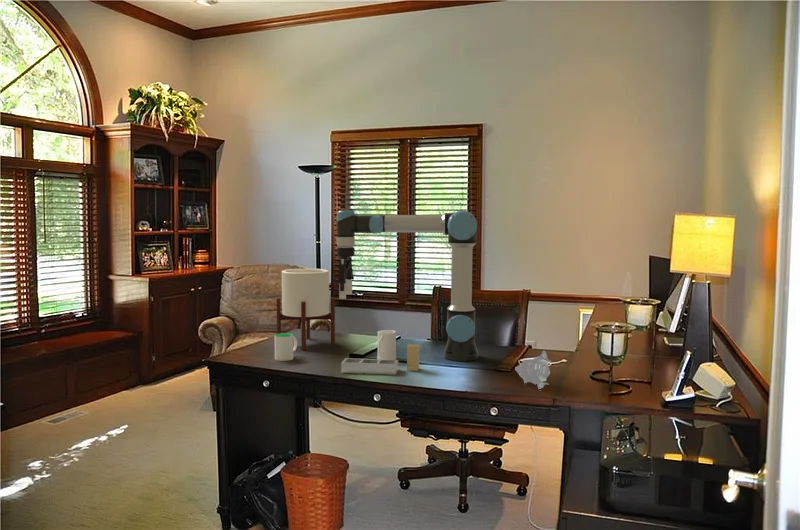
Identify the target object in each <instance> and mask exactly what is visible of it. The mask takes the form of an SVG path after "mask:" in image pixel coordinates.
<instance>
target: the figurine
mask: <svg viewBox="0 0 800 530" xmlns="http://www.w3.org/2000/svg"><path fill="white" fill-rule="evenodd" d="M551 362H552V360H550V359H549V358H548V354H547V352H546V351H545V350H542V352H541V354H540V355H539V356H538V357H534V359H531V358H530V359H526V360H524V361H523V362H521V363H520V364H518V365H517V366H515V368H514V370H515V371H516V372H517V374H518V375H519V377H520V378H521V379H522V380H523V383H524V384H525V383H526V384H527V383H531V384H534V385H536V384H537V385H536V386H537V389H538V390H539V389H541V388H543V389H544V386H546V385H549V386H550V384H549V383H548V382H546V381H547V378H548V377H549V376H550V375H551V371H550V367H549V363H551Z"/></svg>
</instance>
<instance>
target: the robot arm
mask: <svg viewBox="0 0 800 530" xmlns="http://www.w3.org/2000/svg"><path fill="white" fill-rule="evenodd" d="M336 214H337V215H336V238H335V241H336V246H337V248H336V256H337V257H341V258H340V259H339V267H338V276H337V277H338V278H337V279H338V280H337V284H338V292H339V293H338V297H339V298H338V299H339V300H346V299H347V295H348V296H349V295H353V280H355V276H354V272H353V270H354V269H353V262H352V260H353V258H352V257H354V256H355V254H356V253H355V252H356V251H355V246H356V245H355V244H356V242H355V238H356V236H355V234H381V233H422V234H423V233H430V234H431V233H432V234H433V233H437V234H439V233H442V234H443V235H444V236H447V238H448V239H447V240H448V241H447V243H448V245H449V246H450V247H451V272H450V273H451V274H450V275H451V276H450V277H451V281H450V282H451V284H450V285H451V286H450V287H451V288H450V305H449V306H448V307H447V308H446V309H447V312H446V313H447V315H446V325H445V330H446V333H447V342H446V344H445V348H444V350H443V358H445V359H446V360H448V361H449V360H450V361H455V362H456V361H457V362H458V361H459V362H469V361H476V360H477V359H479V351H478V348H477V345H476V341H475V334H476V308H475V307H474V306H473V304H472V300H473V299H472V297H473V296H472V295H473V291H472V290H473V249H474V246H476V245H477V229H478V221H477V219H476V217H475V215H474V214H473V213H472V212H469V211H467V210H458V211H456V212H444V213H443V214H440V215H437V214H435V215H430V214H427V215H426V214H423V215H422V214H420V215H419V214H418V215H413V214H408V215H407V214H370V215H368V214H367V215H366V214H365V215H362V214H360V215H358V214H356V213H355V211H354V210H338V211H337V213H336Z"/></svg>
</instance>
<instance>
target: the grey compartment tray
mask: <svg viewBox="0 0 800 530" xmlns="http://www.w3.org/2000/svg"><path fill="white" fill-rule="evenodd" d="M340 367H341V368H340V369H341V371H340V372H341V373H342V374H343V373H344V374H363V373H365V374H366V375H367V374H369V375H391V376H393V375H397V373H398V371H399V359H395V360H384V359H377V358H376V359H375V358H353V357H350V358H348V357H347V358H346V357H345V358H344V359H343V360H342V362H341V366H340Z"/></svg>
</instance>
